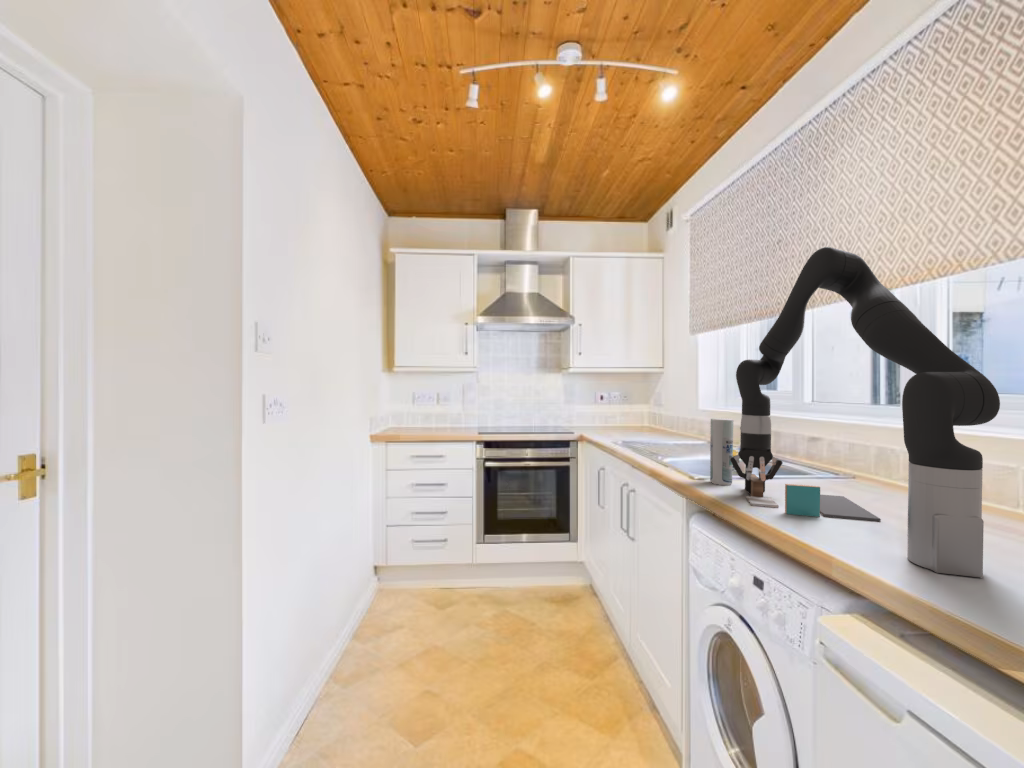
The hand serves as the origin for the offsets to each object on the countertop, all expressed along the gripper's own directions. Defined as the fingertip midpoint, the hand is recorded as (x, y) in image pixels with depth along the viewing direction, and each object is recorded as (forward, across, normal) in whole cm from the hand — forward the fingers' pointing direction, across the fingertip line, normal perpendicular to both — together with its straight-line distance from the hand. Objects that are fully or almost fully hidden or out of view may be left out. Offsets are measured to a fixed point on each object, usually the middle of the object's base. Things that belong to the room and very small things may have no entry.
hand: (754, 493), depth 127 cm
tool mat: (+1, +17, -6) cm, 18 cm away
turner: (+1, 0, -2) cm, 3 cm away
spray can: (+1, -7, +14) cm, 15 cm away
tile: (+1, +7, -18) cm, 19 cm away
